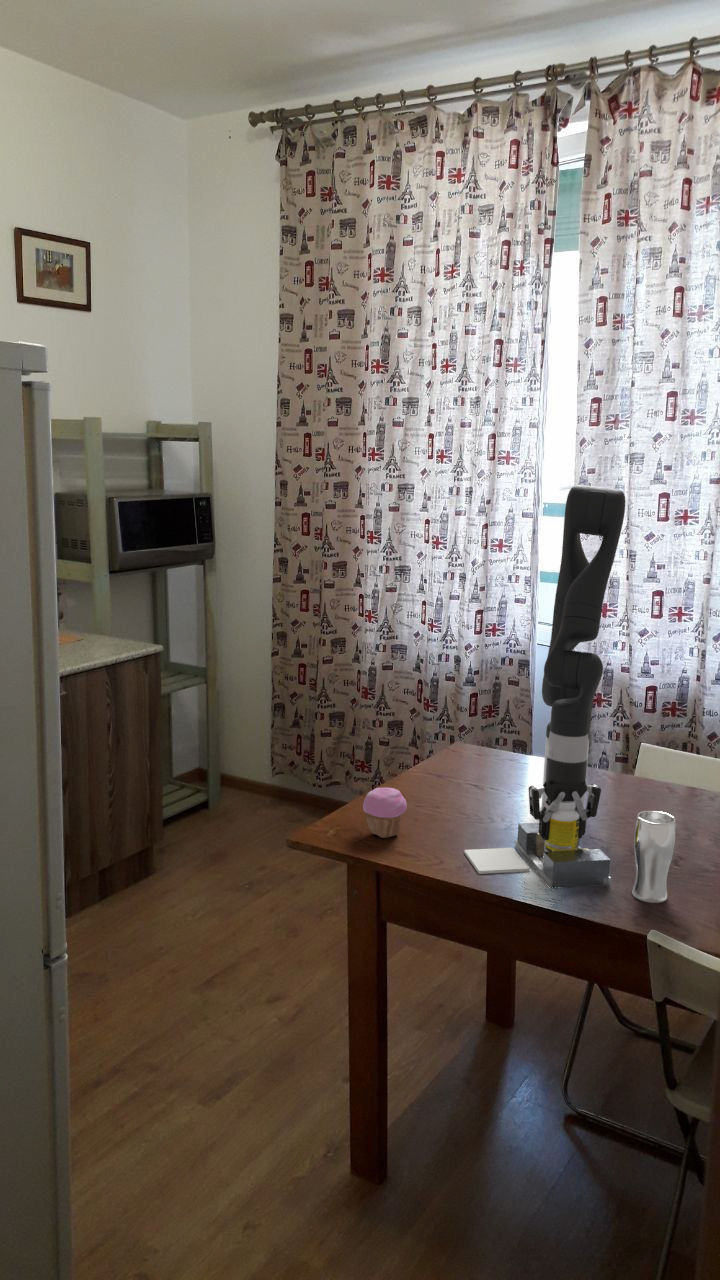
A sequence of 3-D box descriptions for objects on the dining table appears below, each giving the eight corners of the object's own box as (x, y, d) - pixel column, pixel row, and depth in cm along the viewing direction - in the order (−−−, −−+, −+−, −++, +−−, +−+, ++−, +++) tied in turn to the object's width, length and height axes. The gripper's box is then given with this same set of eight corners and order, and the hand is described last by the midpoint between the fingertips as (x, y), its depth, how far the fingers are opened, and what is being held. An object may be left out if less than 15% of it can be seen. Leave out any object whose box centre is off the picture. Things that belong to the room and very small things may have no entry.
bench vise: (515, 847, 201) (516, 823, 200) (570, 844, 203) (572, 821, 202) (549, 888, 182) (551, 862, 181) (610, 884, 184) (612, 859, 183)
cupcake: (413, 835, 205) (415, 789, 203) (384, 846, 199) (385, 799, 197) (382, 823, 211) (384, 778, 209) (353, 833, 205) (354, 787, 203)
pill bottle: (580, 859, 190) (584, 804, 187) (548, 859, 189) (552, 804, 187) (571, 846, 196) (575, 793, 193) (540, 846, 195) (544, 792, 193)
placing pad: (464, 852, 197) (464, 849, 197) (512, 850, 199) (512, 847, 199) (479, 873, 187) (479, 870, 187) (529, 871, 189) (529, 868, 189)
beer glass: (652, 907, 175) (660, 827, 173) (621, 893, 181) (628, 814, 178) (677, 898, 179) (685, 819, 177) (646, 884, 185) (652, 807, 182)
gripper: (595, 747, 193) (589, 828, 197) (524, 749, 191) (519, 831, 194) (611, 759, 186) (604, 844, 189) (537, 762, 183) (532, 847, 187)
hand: (561, 837), depth 192 cm, fingers closed on pill bottle, 6 cm apart
